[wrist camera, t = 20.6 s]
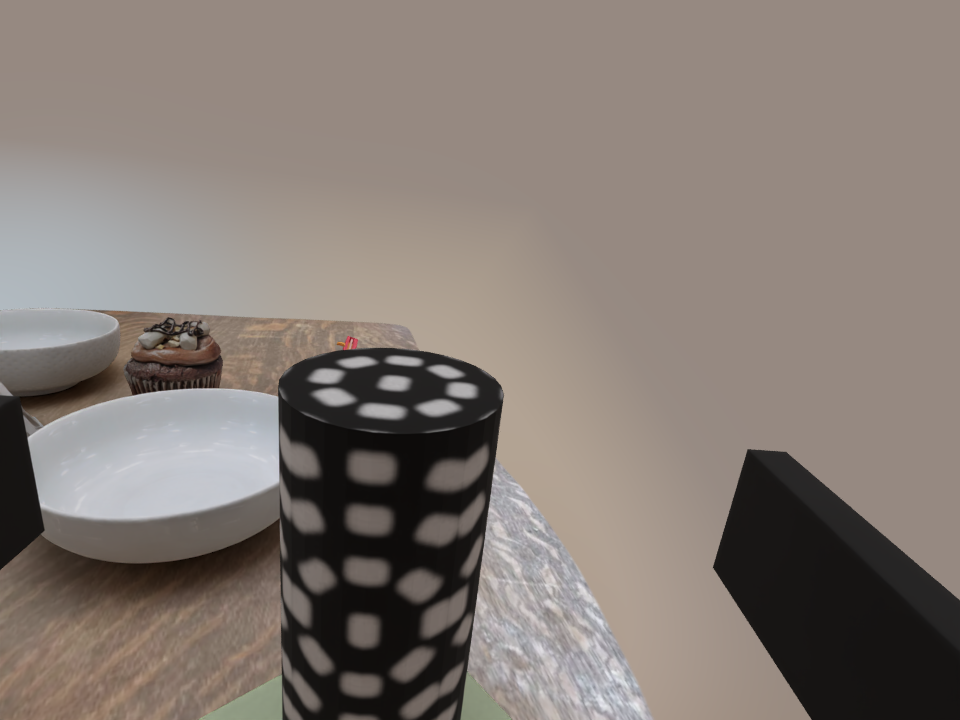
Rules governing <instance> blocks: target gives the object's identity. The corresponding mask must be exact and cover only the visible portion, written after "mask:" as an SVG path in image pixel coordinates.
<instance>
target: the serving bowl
mask: <svg viewBox="0 0 960 720" xmlns="http://www.w3.org/2000/svg"><path fill="white" fill-rule="evenodd" d="M28 443H29V449H30V454H31V459H32V465H33V470H34V475H35V481H36V486H37V491H38V497H39V502H40V507H41V513H42V518H43V523H44V529H45V531H44V532H43V533H42V534H40V535H42V536H43V537H44V538H46V539H47V540H49V541H50V542H52V543H53V544H55V545H57V546H59V547H61V548H63V549H65V550H68V551H70V552H73V553H76V554H78V555H81V556H85V557H89V558H92V559H98V560H103V561H109V562H118V563H157V562H168V561H175V560H181V559H187V558H192V557H196V556H200V555H204V554H207V553H211V552H214V551H217V550H220V549H223V548H226V547H228V546H231V545H234V544H236V543H239V542H241V541H243V540H245V539H247V538H249V537H251V536H253V535H255V534H257V533H258V532H260V531H262V530H263V529H265V528H266V527H268V526H269V525H271V524H272V523H274V522H275V521H276V520H278V519H279V518H280V492H279V414H278V397H277V396H273V395H269V394H265V393H260V392H253V391H247V390H237V389H219V388H204V389H179V390H168V391H158V392H151V393H144V394H139V395H134V396H129V397H123V398H119V399H115V400H111V401H108V402H104V403H100V404H97V405H94V406H90V407H87V408H85V409H82V410H79V411H76V412H73V413H71V414H68V415H66V416H64V417H61V418H59V419H57V420H55V421H53V422H51V423H49V424H48V425H46V426H44V427H42V428H41V429H39V430H38V431H36V432H35V433H33V434H32V435H30V436H29V437H28Z"/></svg>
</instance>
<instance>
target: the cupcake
mask: <svg viewBox="0 0 960 720" xmlns="http://www.w3.org/2000/svg"><path fill="white" fill-rule="evenodd" d="M144 332H145V333H144V334H143V335H141V336H140V337H139V338H138V342H137V343H136V344H135V345H134V348H133V350H132V352H131V356H132V357H133V358H131V359H130V360H129V361H128V362H127V364H126V365H125V367H124V369H123V370H124V374H125V377H126V379H127V381H128V383H129V386H130V388H131V391H132V395H133V396H134V395H139V394H144V393H151V392H158V391H168V390H179V389H204V388H219V385H220V380H221V374H222V366H223V360H222V358H221V356H220V353H221V350H220V347H219V345H218V344H217V343H216V342H215V341H214V339H213V338H212V337H211V336H209V332H210V327H209V325H208V324H207V323H205V322H201V320H199V321H198V322H197V321H191V322H189V321H186V322H184V323H183V324H181V325H177V324H176V323H175V320H174V319H172V318H169V317H168V318H166V320H165V321H164V322H162V323H160V324H155V325H153V326H152V327H150V328H144Z"/></svg>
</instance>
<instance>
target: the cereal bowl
mask: <svg viewBox="0 0 960 720" xmlns="http://www.w3.org/2000/svg"><path fill="white" fill-rule="evenodd" d="M119 346H120V327H119V323H118V321H117V320H116V319H115V318H113V317H111V316H109V315H106V314H103V313H98V312H93V311H86V310H76V309H59V308H30V309H11V310H0V382H1V383H2V384H3V385H4V386H5V387H6V389H7V390H8V391H9V392H10V393H11V394H12V395H13V396H37V395H44V394H50V393H54V392H59V391H62V390H65V389H68V388H70V387H72V386H74V385H76V384H77V383H78V382H80V381H83V380H85V379H88V378H90V377H93V376H95V375H96V374H99V373H100V372H102V371H103V370H104V369H106V368H107V367H108V366H109V365H110V364H111V363H112V362H113V361H114V359H115V357H116V356H117V353H118V351H119Z"/></svg>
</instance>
